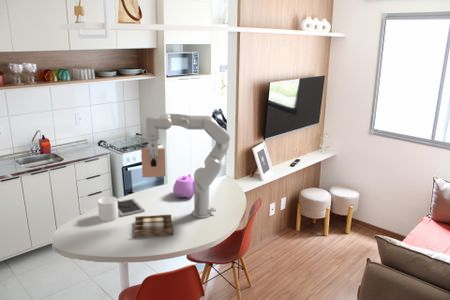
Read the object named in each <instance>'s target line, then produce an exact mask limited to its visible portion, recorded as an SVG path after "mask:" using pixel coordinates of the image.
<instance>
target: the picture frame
mask: <svg viewBox="0 0 450 300" xmlns="http://www.w3.org/2000/svg"><path fill="white" fill-rule="evenodd" d="M117 202H118V216H119V217H120V218H124V217H128V216H132V215H136V214H141V213H144V212H146V211H145V209H144V208H143V207H142V206H141V205H140V203H138V201H136V199H134V198H128V199H124V200H117Z"/></svg>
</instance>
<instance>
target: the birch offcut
mask: <svg viewBox="0 0 450 300" xmlns="http://www.w3.org/2000/svg"><path fill="white" fill-rule="evenodd" d="M143 223H164V222H163V218H148V219H143Z"/></svg>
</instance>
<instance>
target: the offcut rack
mask: <svg viewBox="0 0 450 300" xmlns="http://www.w3.org/2000/svg"><path fill="white" fill-rule="evenodd" d="M148 218H163V222H164V229H151V230H143V219H148ZM133 233H134V238H144V237H145V238H149V237H161V236H162V237H164V236H173V235H174V229H173V219H172V214H160V215H143V216H142V215H139V216H135V220H134V231H133Z"/></svg>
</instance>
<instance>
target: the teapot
mask: <svg viewBox="0 0 450 300" xmlns="http://www.w3.org/2000/svg"><path fill="white" fill-rule="evenodd" d="M172 192H173V194H174V195H175V196H176V198H177V199H179V198H186V199H187V200H189V199H191V197H194V177H192V174H190V173H189V174H188V175H181V176H179V177H178V178H176V180H175V182H174V184H173V188H172Z"/></svg>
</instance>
